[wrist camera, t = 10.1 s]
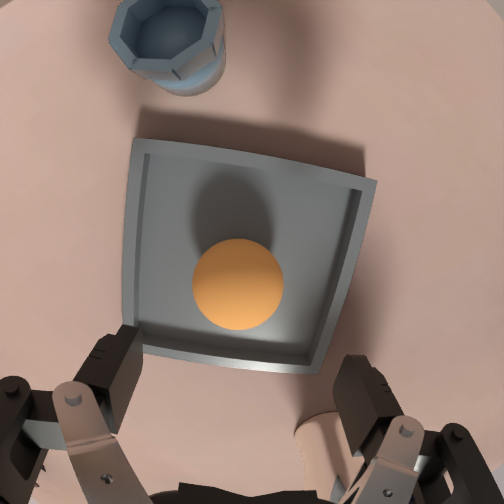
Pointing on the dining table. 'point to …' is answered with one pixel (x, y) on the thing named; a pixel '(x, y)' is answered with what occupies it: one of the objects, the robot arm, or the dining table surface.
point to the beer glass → (326, 456)
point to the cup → (171, 42)
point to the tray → (238, 227)
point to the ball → (237, 284)
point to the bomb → (412, 500)
